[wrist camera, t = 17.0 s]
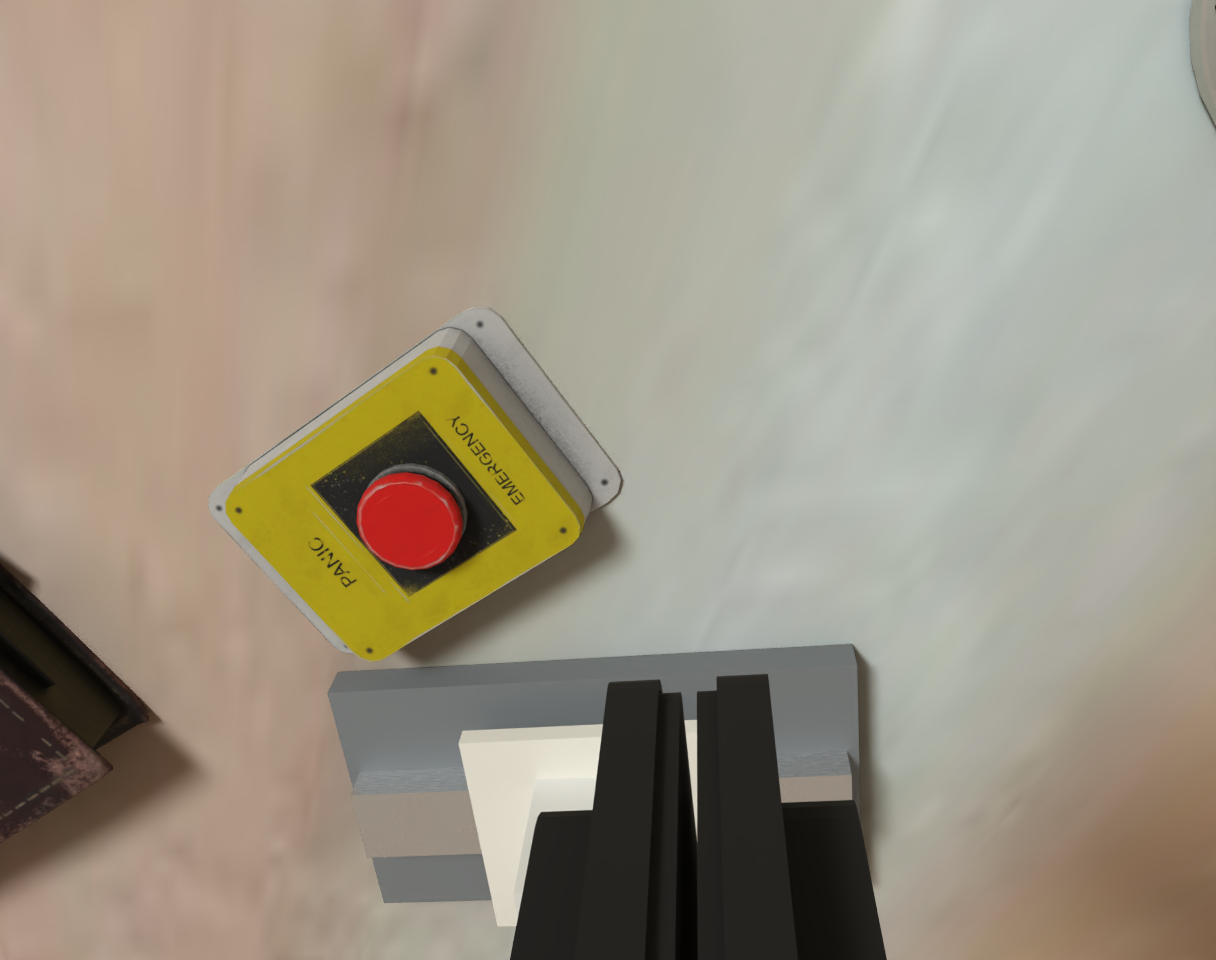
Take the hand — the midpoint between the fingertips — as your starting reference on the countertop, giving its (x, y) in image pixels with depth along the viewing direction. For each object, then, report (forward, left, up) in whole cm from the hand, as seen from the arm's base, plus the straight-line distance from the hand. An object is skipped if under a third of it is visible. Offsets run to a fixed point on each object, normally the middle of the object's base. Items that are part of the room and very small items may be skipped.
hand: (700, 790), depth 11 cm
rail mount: (+6, +24, -29) cm, 38 cm away
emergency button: (+12, +10, -30) cm, 34 cm away
